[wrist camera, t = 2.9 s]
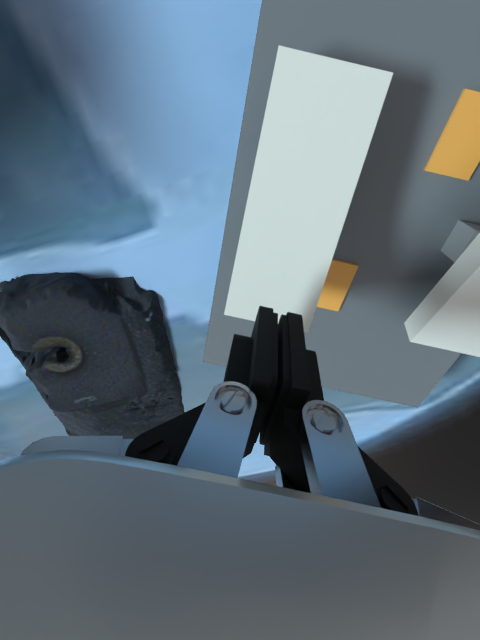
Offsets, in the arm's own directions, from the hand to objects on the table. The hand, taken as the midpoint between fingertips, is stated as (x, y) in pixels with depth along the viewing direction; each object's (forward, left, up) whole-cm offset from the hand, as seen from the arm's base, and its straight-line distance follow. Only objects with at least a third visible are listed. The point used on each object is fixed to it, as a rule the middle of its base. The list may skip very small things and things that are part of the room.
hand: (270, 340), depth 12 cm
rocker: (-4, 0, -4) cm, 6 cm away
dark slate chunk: (+16, -13, -11) cm, 23 cm away
